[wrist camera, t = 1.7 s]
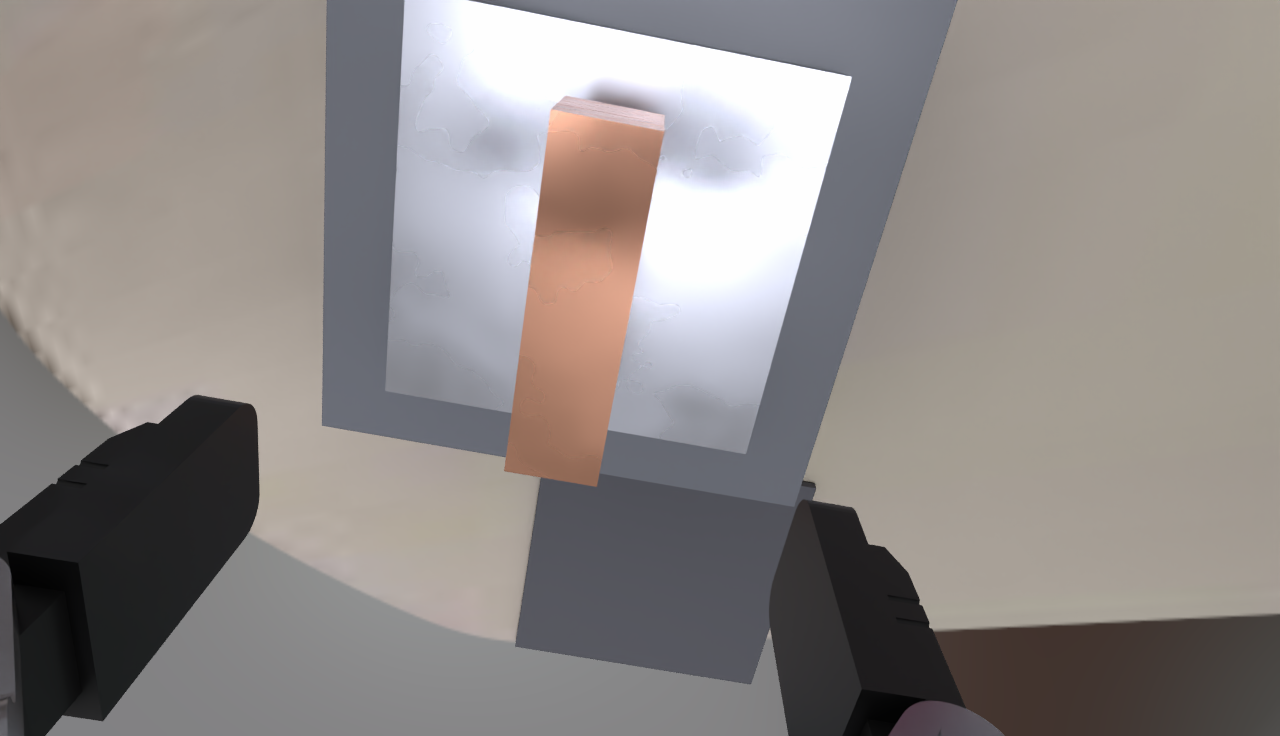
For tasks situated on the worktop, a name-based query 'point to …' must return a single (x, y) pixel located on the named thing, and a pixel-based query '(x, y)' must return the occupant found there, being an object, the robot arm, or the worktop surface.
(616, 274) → the cover
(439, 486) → the worktop surface
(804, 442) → the housing
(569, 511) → the pad
